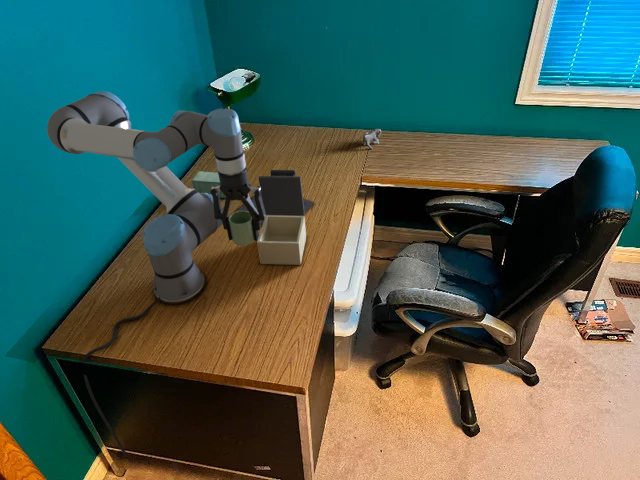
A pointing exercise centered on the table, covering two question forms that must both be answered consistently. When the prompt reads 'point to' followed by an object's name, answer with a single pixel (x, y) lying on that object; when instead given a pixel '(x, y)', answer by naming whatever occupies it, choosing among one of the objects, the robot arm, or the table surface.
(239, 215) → the green cup
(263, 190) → the bin lid
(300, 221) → the open square bin
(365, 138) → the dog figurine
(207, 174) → the box
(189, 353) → the table surface
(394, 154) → the table surface
